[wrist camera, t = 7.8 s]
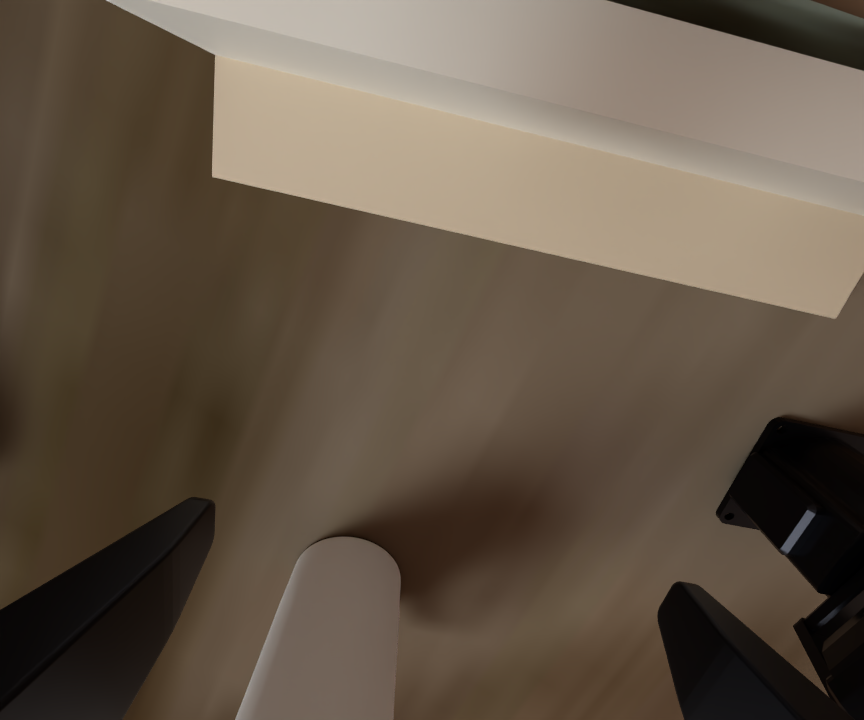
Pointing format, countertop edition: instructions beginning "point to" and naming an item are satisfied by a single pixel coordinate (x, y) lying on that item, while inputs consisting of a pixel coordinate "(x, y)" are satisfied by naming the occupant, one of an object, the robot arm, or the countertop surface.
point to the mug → (331, 638)
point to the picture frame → (777, 23)
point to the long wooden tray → (549, 132)
